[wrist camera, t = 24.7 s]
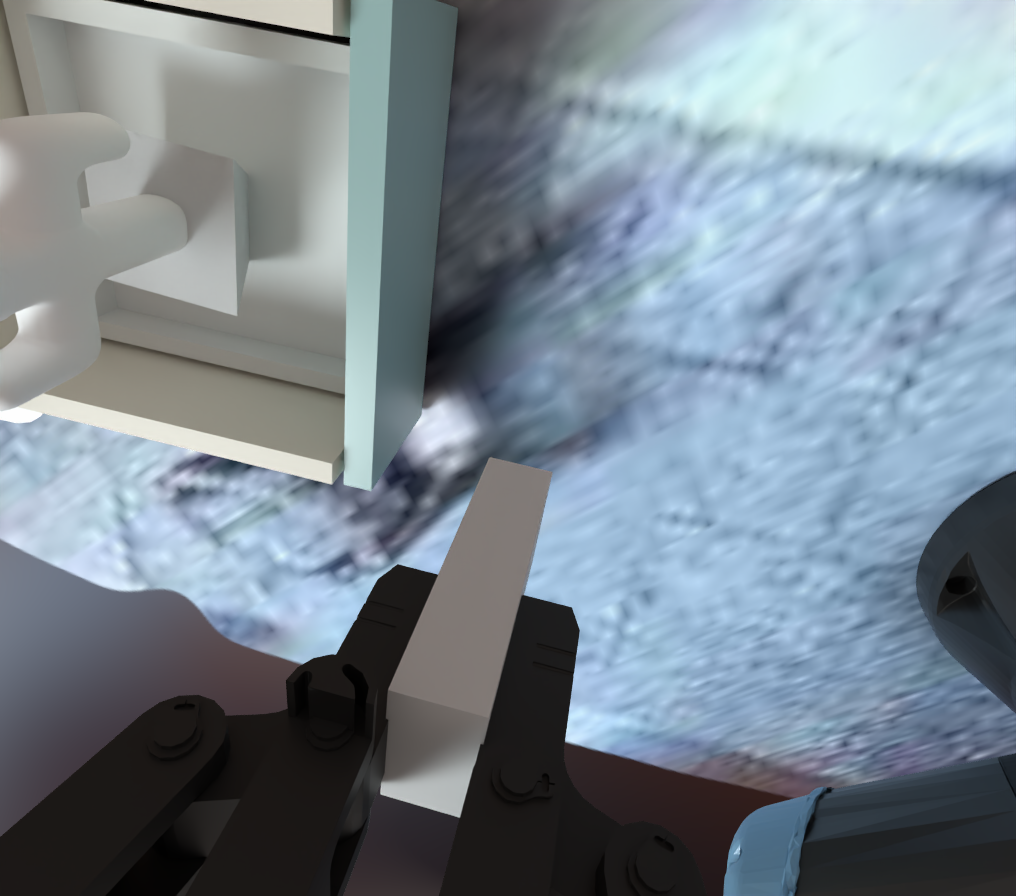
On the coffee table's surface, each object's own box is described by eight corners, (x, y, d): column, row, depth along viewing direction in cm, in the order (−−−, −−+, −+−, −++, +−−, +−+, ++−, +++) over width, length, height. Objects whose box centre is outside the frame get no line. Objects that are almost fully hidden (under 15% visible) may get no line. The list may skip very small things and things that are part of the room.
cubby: (421, 13, 27) (333, -11, 19) (396, 400, 37) (332, 484, 30) (18, -60, 28) (-211, -108, 21) (100, 331, 39) (-33, 394, 31)
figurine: (276, 125, 29) (-7, 164, 16) (274, 313, 34) (57, 453, 22) (132, 86, 29) (-253, 95, 17) (151, 278, 35) (-133, 396, 22)
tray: (458, 8, 26) (393, -15, 20) (421, 415, 37) (371, 491, 30) (44, -67, 28) (-149, -111, 21) (123, 345, 38) (12, 403, 32)
